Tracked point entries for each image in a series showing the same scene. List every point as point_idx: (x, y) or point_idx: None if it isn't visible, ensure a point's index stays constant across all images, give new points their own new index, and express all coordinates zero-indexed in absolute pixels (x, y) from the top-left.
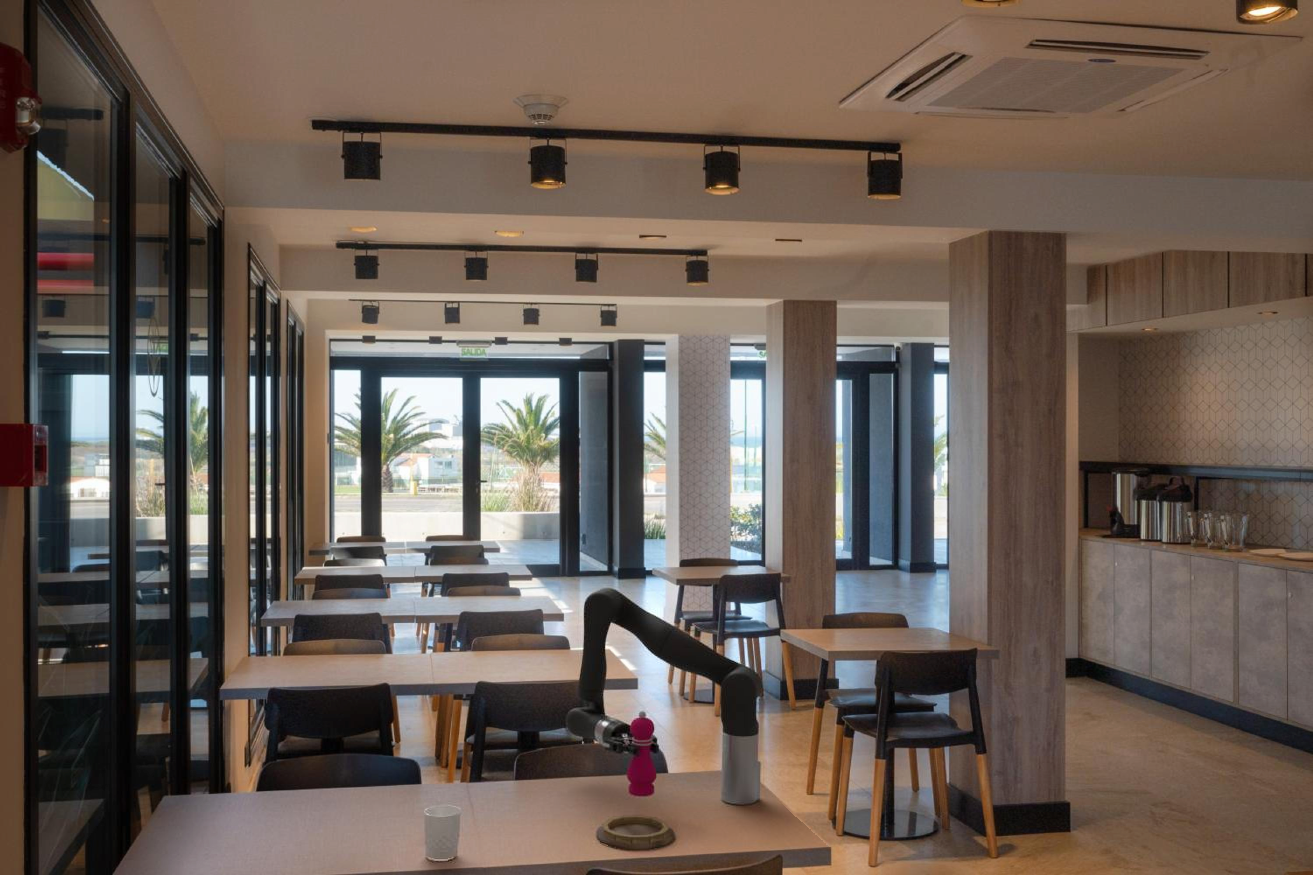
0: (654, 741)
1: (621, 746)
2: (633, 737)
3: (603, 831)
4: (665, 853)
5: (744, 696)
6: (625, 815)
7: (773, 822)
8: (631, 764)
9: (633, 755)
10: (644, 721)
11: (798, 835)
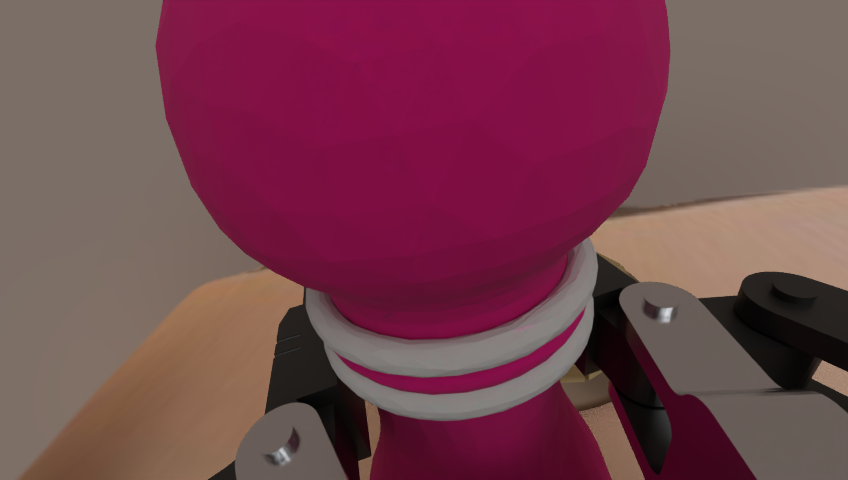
0: (217, 474)
1: (732, 305)
2: (572, 262)
3: None
4: None
5: None
6: (573, 367)
7: (133, 398)
8: (574, 406)
9: (559, 380)
10: None
11: (178, 321)
